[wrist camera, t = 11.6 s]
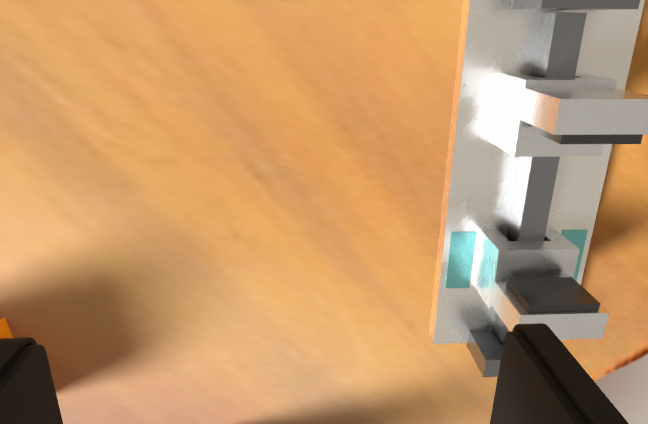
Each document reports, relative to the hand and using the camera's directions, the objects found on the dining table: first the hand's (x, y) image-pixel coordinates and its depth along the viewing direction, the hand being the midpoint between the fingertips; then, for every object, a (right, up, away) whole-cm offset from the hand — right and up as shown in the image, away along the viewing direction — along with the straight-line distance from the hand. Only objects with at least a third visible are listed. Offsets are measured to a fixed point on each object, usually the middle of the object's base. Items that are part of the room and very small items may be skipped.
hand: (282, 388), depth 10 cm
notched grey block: (+16, 0, +30) cm, 34 cm away
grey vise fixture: (+16, +6, +29) cm, 34 cm away
